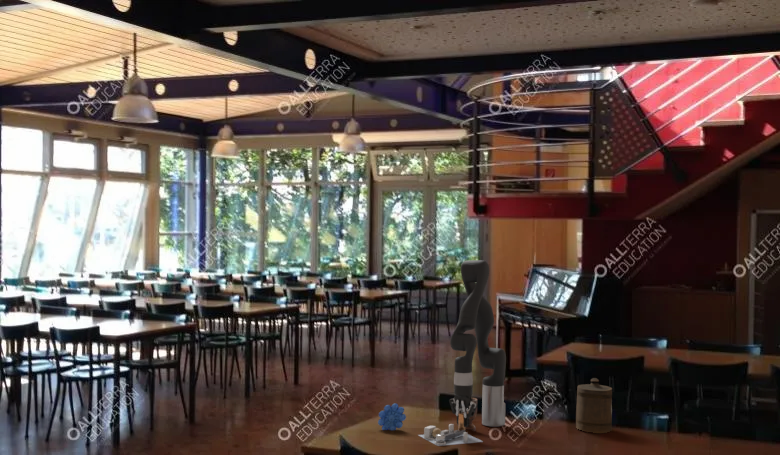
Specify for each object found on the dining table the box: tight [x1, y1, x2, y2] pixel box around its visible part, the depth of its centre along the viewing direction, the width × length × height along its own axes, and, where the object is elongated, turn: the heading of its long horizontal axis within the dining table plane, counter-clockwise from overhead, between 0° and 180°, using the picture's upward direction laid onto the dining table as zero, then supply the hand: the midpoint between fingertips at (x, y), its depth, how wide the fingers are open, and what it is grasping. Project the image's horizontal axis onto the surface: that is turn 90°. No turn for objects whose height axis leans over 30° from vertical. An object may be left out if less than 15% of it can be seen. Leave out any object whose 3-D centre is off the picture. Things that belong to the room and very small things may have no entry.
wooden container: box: [575, 377, 613, 434], centre depth 339 cm, size 15×15×22 cm
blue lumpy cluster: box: [377, 403, 407, 431], centre depth 327 cm, size 12×7×12 cm, turn 81°
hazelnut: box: [432, 427, 442, 438], centre depth 313 cm, size 4×4×4 cm
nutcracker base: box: [417, 423, 484, 447], centre depth 313 cm, size 20×18×6 cm
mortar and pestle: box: [462, 397, 478, 432], centre depth 331 cm, size 12×9×20 cm
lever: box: [436, 413, 466, 442], centre depth 311 cm, size 19×4×8 cm, turn 144°
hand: (462, 425), depth 318 cm, fingers closed on lever, 3 cm apart
